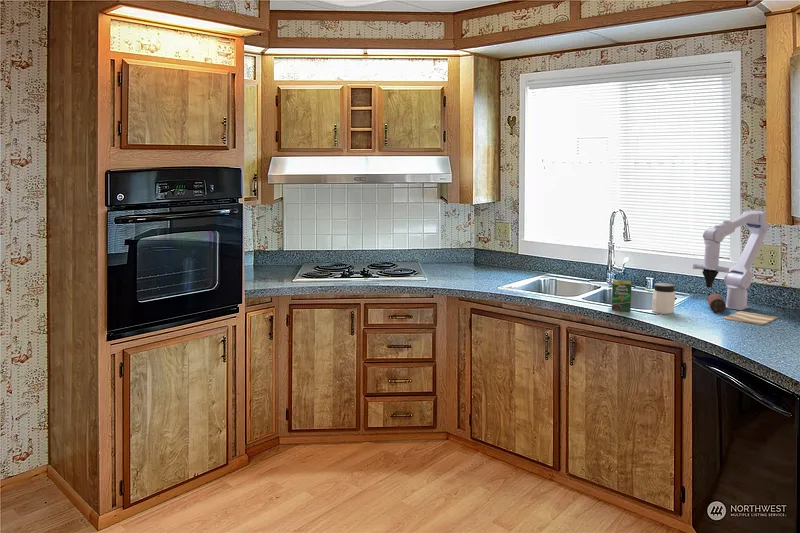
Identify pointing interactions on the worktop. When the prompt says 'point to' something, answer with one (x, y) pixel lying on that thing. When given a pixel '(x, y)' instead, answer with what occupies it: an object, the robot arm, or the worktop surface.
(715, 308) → the can
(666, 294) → the jar
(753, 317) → the wooden cutting board
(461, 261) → the worktop surface
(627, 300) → the green cardboard box
